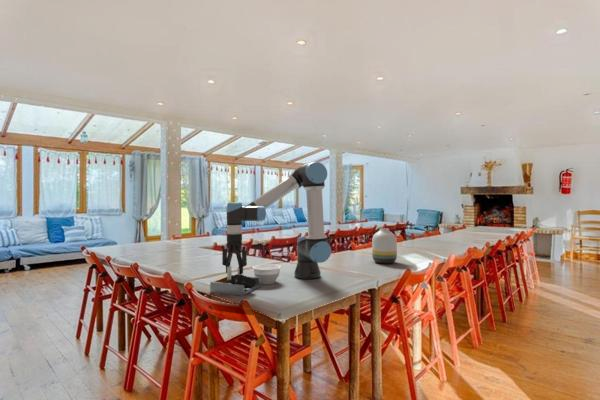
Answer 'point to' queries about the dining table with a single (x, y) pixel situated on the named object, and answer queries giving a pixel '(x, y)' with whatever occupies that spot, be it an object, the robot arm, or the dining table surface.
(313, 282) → the dining table surface
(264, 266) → the bowl
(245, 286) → the rock
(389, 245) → the vase
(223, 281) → the grey hollow tray
